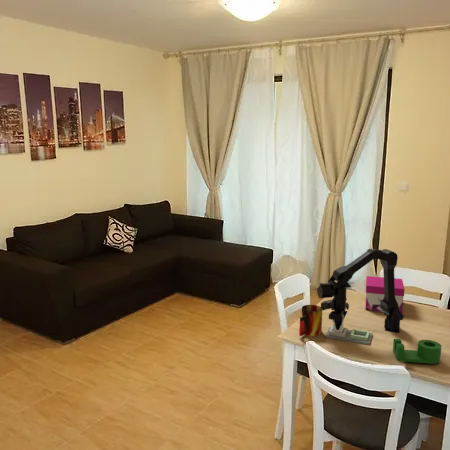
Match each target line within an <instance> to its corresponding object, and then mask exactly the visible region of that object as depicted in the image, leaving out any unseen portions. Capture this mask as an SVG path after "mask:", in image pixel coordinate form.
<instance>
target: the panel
mask: <svg viewBox="0 0 450 450" xmlns="http://www.w3.org/2000/svg"><path fill="white" fill-rule="evenodd" d="M373 335H374V334H373V333H371V332H370V331H368V330H362V329H356V328H354V329H348V327H344V326H343V333H341V332H335V331H333V325H331V326H329V328H328V329H327V332H326V333H325V335H324V338H326V339H331V340H336V341H337V340H338V341H341V342H342V341H343V342H349V343H354V344H355V343H356V344H361V345H366V346H370V344H371V341H372V338H373Z"/></svg>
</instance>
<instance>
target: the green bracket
mask: <svg viewBox="0 0 450 450" xmlns="http://www.w3.org/2000/svg"><path fill="white" fill-rule="evenodd" d="M392 352H393V355H394V357H395V360H396V361H398V362H404V363H405V362H406V363H419V364H433V365H434V364H439V363H440V362H441V355H442V344H441V343H439V342H438V341H435V340H432V339H431V340H430V339H420V340H418V341H417V349H416V350H415V349H405V344H404V343H402V339H401V338H393V344H392Z"/></svg>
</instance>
